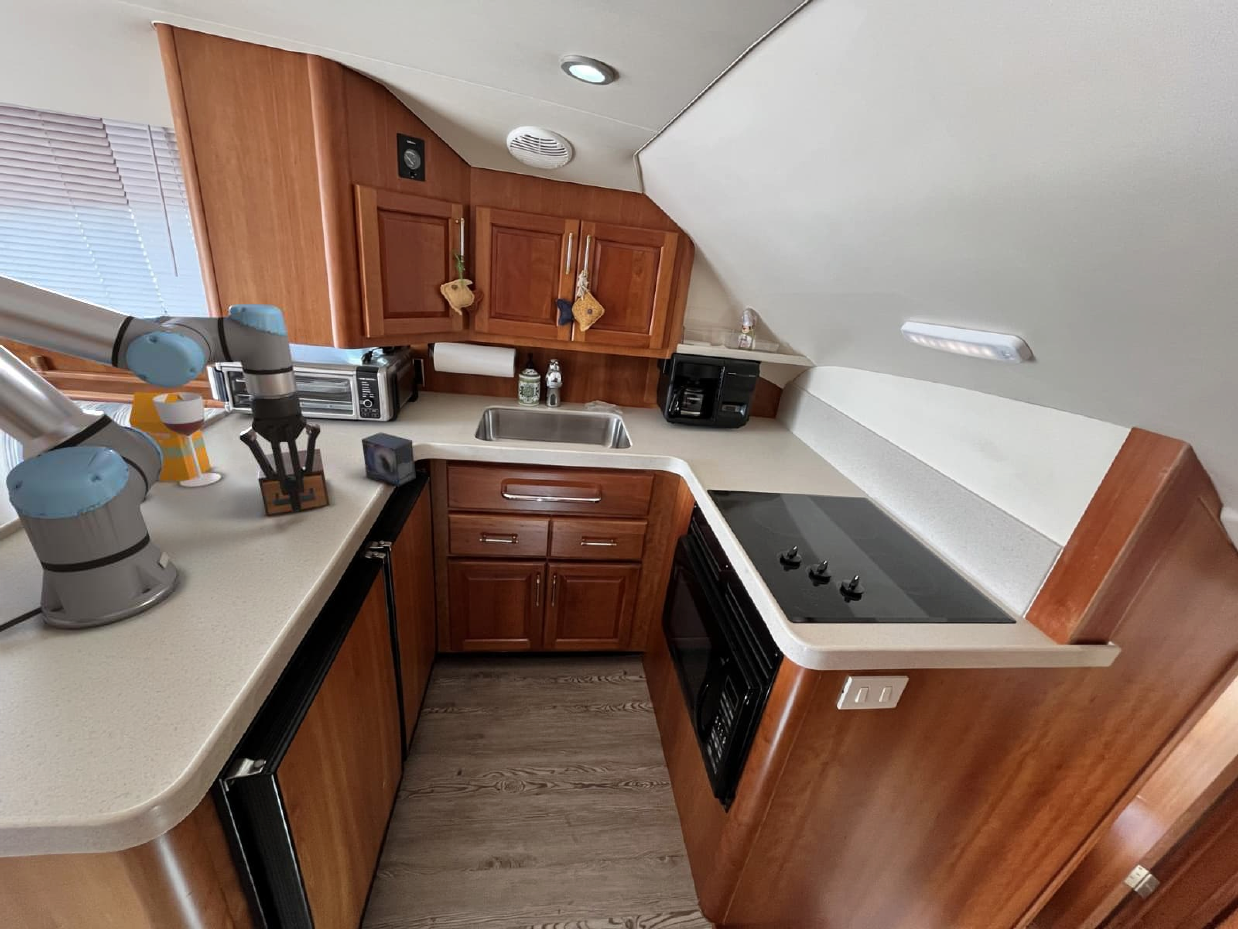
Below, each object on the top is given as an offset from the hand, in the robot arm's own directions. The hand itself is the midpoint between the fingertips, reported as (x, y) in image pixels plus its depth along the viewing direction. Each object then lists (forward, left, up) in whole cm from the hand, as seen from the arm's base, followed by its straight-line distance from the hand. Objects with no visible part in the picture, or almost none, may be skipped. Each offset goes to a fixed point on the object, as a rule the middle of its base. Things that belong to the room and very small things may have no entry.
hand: (296, 507), depth 98 cm
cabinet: (0, +15, -5) cm, 15 cm away
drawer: (0, +10, -4) cm, 11 cm away
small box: (+20, +18, -5) cm, 27 cm away
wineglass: (-19, +33, -5) cm, 38 cm away
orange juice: (-23, +38, -5) cm, 44 cm away
